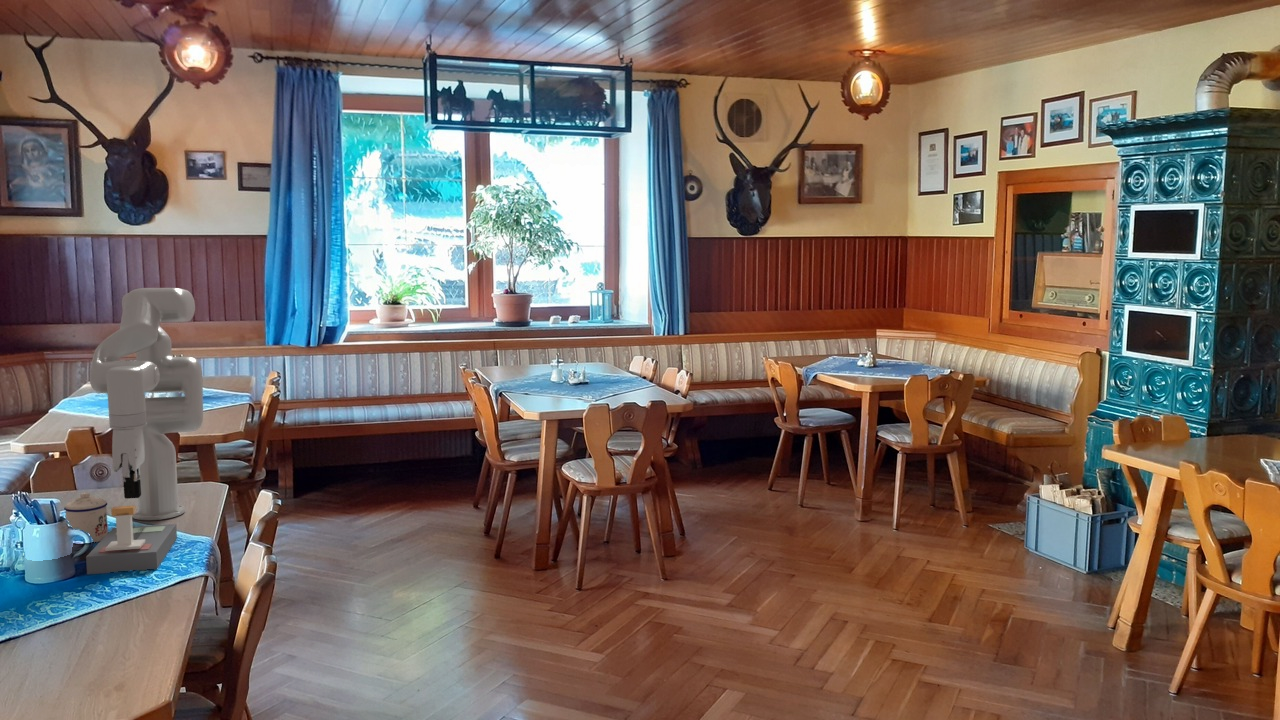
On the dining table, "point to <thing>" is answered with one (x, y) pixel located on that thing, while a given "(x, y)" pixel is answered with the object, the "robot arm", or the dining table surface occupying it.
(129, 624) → the dining table surface
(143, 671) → the dining table surface
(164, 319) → the robot arm
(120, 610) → the dining table surface
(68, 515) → the teacup with lid
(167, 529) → the switch box
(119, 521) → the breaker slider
